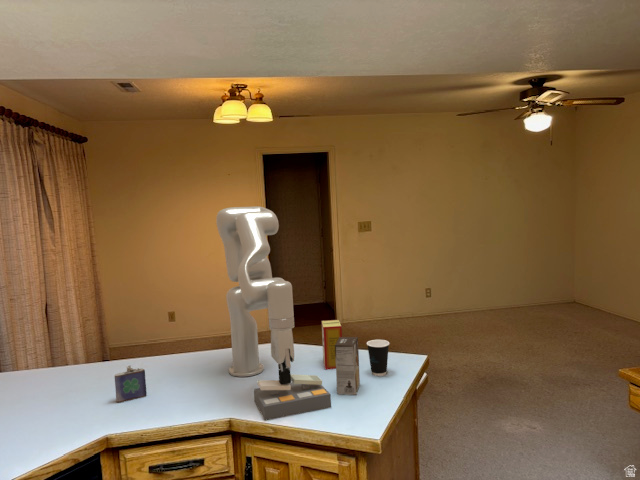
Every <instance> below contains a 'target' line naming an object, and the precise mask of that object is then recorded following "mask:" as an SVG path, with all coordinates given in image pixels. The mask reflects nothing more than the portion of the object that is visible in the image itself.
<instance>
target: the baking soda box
mask: <svg viewBox="0 0 640 480" xmlns="http://www.w3.org/2000/svg"><path fill="white" fill-rule="evenodd" d="M342 328H343V327H342V325H341V322H340V320H339V319H331V320H330V319H329V320H328V319H327V320H321V337H322V338H321V340H322V341H321V342H322V361H323V365H324V370H336V357H335V344H336V343H337V341H338V339H339V337H343V332H342V331H343V330H342Z"/></svg>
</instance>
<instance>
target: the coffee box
mask: <svg viewBox="0 0 640 480" xmlns="http://www.w3.org/2000/svg"><path fill="white" fill-rule="evenodd" d="M359 355H360V353H359V336H342V337H339V339H338V341H337V343H336V344H335V357H336V369H335V374H336V394H337V395H343V394H346V395H348V396H349V395H350V396H356V395H357V394H358V390H359V388H360V385H361V380H360V359H359V358H360V356H359ZM346 395H345V396H346Z"/></svg>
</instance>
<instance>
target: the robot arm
mask: <svg viewBox="0 0 640 480" xmlns="http://www.w3.org/2000/svg"><path fill="white" fill-rule="evenodd" d="M216 227H217V232H218V235H219V237H220V239H221V242H222V243H223V249H224V254H225V255H224V256H225V264H226V273H227V276H228V279H229V280H230V281H231V282H234V283H238V285H237V286H233V287H231V288H230V289H228V291H227V292H226V296H225V297H226V305H227V309H228V314H229V322H230V336H231V337H230V339H231V350H232V351H231V352H232V353H231V354H232V355H231V356H232V366H230V368H229V369H228V373H229V374H230V375H231V376H233V377H238V378H241V377H242V378H244V377H252V376H257V375H258V374H261V373H262V372H263V371H264V368H265V367H264V364H263V363H261V362H260V357H259V337H258V334H259V333H258V323H257V320H256V319H255V317H254V316H252V314H251V313H250V312H252V311H259V310H264V309H267V316H268V329H269V330H270V354H271V358H272V360H274V361H275V362H276V363H277V367H278V380H279V382H280V384H281V385H282V384H288V383H291V382H292V381H291V375H290V374H291V368H292V366H291V365H292V364H291V363H293V362H294V361H295V347H294V337H293V336H294V335H293V329H294V328H295V317H294V315H295V314H294V312H295V311H294V299H293V297H294V296H293V285H292V283H291V282H290V281H288V280H285V279H283V278H282V277H273V274H272V272H273V271H272V266H271V262H270V260H269V258H268V256H269V254H271V253H270V252H271V247H270V243H269V241H268V238H267V236H273V235H275V234H277V233H278V231H279V227H280V224H279V220H278V216H277V215H276V213H274V211H272V210H270V209H268V208H266V207H263V206H258V205H257V206H234V207H226V208H223V209H220V210H219V211H217V214H216Z"/></svg>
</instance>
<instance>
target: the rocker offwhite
mask: <svg viewBox="0 0 640 480" xmlns="http://www.w3.org/2000/svg"><path fill="white" fill-rule="evenodd" d="M256 383H257V384H256V385H257V386H258V388H260V389H261V390H290V389H291V385H290V384H289V383H288V384H282V385H281V384H280V382H279V379H275V380H274V379H273V380H271V379H269V380H268V379H266V380H265V379H263V380H262V379H259V380H257V382H256Z"/></svg>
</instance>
